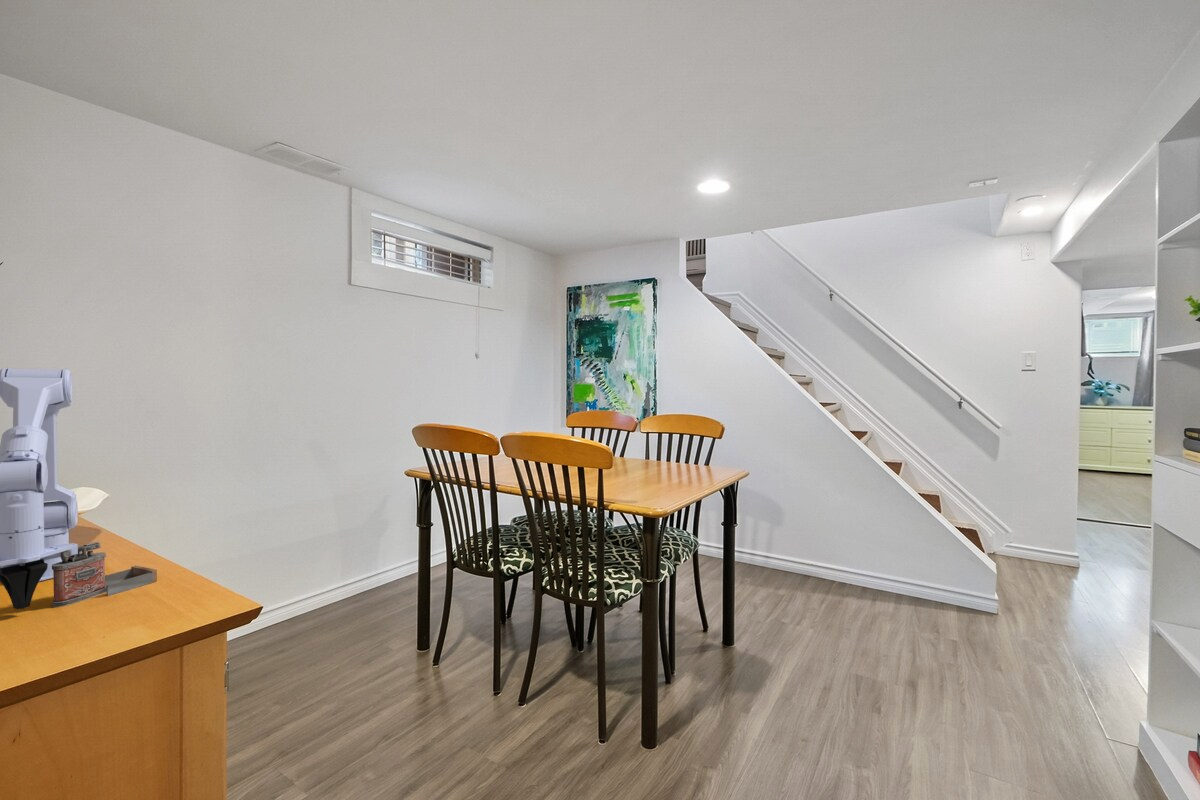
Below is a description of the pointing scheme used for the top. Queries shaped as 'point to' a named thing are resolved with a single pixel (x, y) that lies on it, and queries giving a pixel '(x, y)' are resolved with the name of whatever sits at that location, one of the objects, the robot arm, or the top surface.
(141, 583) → the keeper
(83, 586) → the lighter
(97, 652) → the top surface
